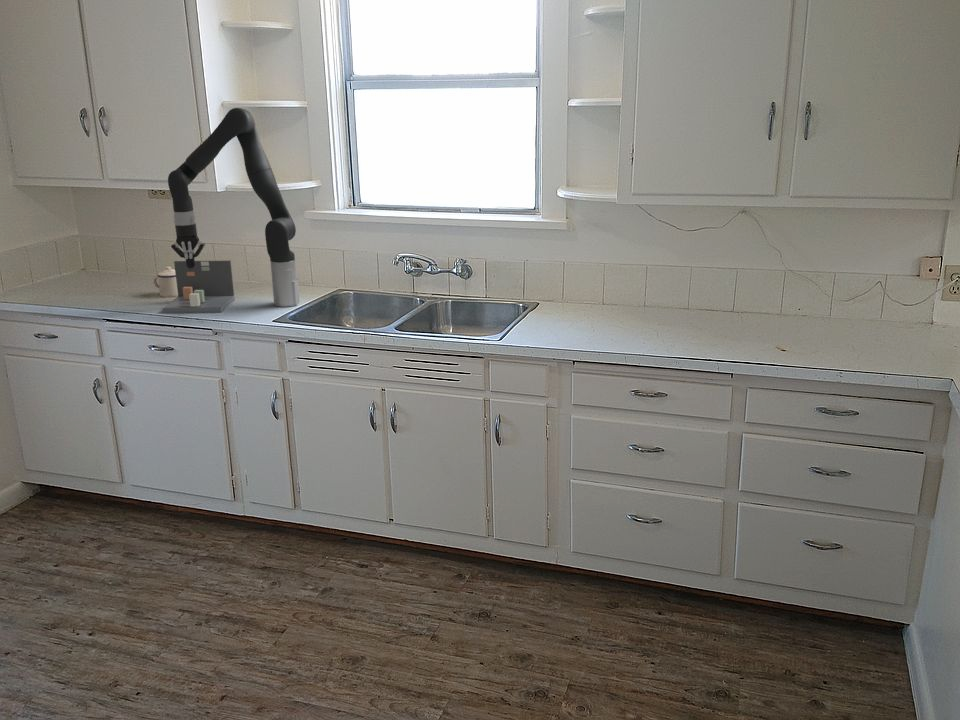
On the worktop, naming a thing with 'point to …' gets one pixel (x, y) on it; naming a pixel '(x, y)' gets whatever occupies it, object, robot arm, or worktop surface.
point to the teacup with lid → (167, 282)
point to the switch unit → (203, 286)
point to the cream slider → (194, 299)
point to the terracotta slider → (187, 292)
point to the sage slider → (200, 295)
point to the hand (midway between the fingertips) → (191, 268)
